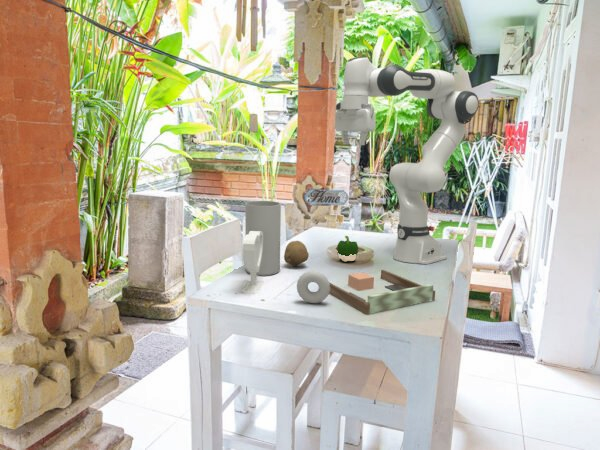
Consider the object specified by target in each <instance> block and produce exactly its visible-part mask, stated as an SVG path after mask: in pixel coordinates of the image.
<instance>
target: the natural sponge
mask: <svg viewBox="0 0 600 450" xmlns="http://www.w3.org/2000/svg"><path fill="white" fill-rule="evenodd" d="M309 257H310V256H309V252H308V249H307V247H306V245H305V244H304V243H303V242H302V241H300V240H291V241H290V242H289V243H288V244H287V245H286V247H285V249H284V255H283V258H284V262H285V263H287V264H289V265H290V266H292V267H298V266H300V265H301V264H303V263H305V262H306V261H307V260H309Z"/></svg>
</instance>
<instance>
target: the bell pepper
mask: <svg viewBox="0 0 600 450" xmlns="http://www.w3.org/2000/svg"><path fill="white" fill-rule="evenodd" d="M344 238H345V239H346V240H340V241H339V242H338V243H337V246H336V249H337V250H336V252H337V251H338V252H337V254H338V253H339V254H341V255H345V256H349V255H350V254H352V255H354V254H357V255H358V253H359V245H358V242H357V241H351V240H350V237H349V236H348V235H345V236H344Z"/></svg>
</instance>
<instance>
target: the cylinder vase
mask: <svg viewBox="0 0 600 450" xmlns="http://www.w3.org/2000/svg"><path fill="white" fill-rule="evenodd" d="M244 204H245V206H244V207H245V209H244V210H245V211H244V212H245V214H244V215H245V236H246V235H247V234H249V232H250V231H262V232H263V252H262V259H261V264H260V269H259V272H257V276H263V277H264V276H273V275H276V274H277V273H279V272H280V270H281V224H282V223H281V221H282V219H281V216H282V215H281V214H282V213H281V212H282V204H281V202H278V201H272V200H253V201H248V202H247V201H246V202H245V203H244ZM245 271H246V272H247V273H248V274H250V272H248V270H247V269H246V268H245Z"/></svg>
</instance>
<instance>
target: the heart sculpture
mask: <svg viewBox="0 0 600 450" xmlns="http://www.w3.org/2000/svg"><path fill="white" fill-rule="evenodd" d="M262 252H263V232H262V231H250V232H249V234H247V235H246V234H245V236H244V239H243V242H242V261H243V265H244V267H245V270H246V269H247V270H248V272H250V273H249V275H250V280H249V282H248V283H247V284H246V285H245V287H244V289H243V290H242V291H241V292H242V293H244V294H247V295H252V294H254V295H255V294H258V293H259V291H260V290H261V288H262V287H263V284H264V283H265V281H263V280H257V279H258V277H257V276H258V275H257V272H259V269H260V264H261V259H262ZM248 272H247V273H248Z"/></svg>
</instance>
